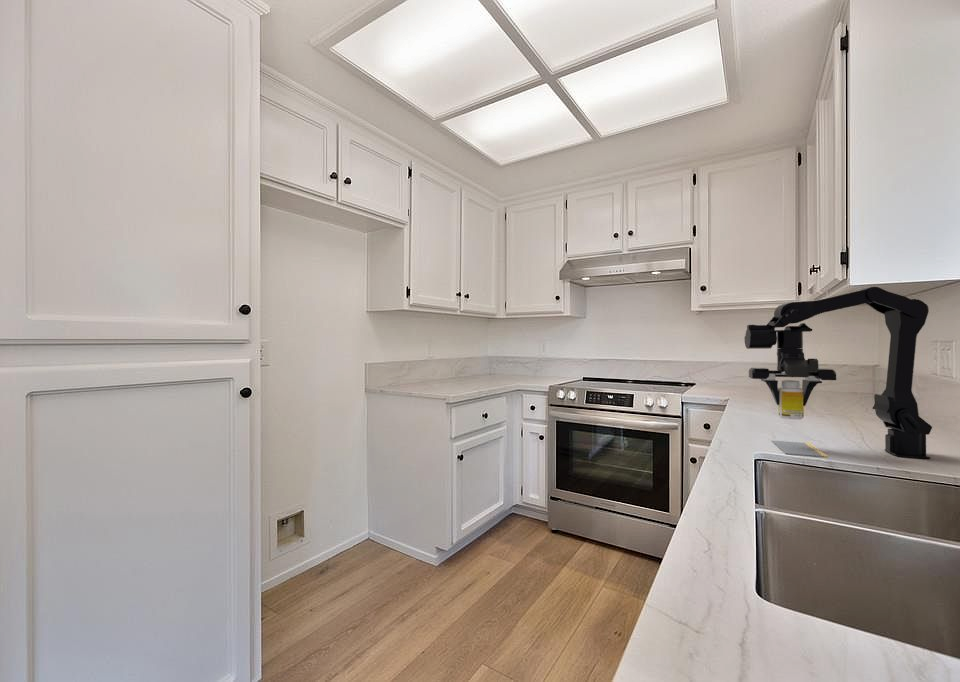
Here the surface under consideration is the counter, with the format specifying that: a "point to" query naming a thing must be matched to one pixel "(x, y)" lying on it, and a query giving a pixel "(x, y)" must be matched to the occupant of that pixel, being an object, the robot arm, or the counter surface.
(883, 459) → the counter surface
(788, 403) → the supplement bottle
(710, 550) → the counter surface
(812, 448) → the mat
